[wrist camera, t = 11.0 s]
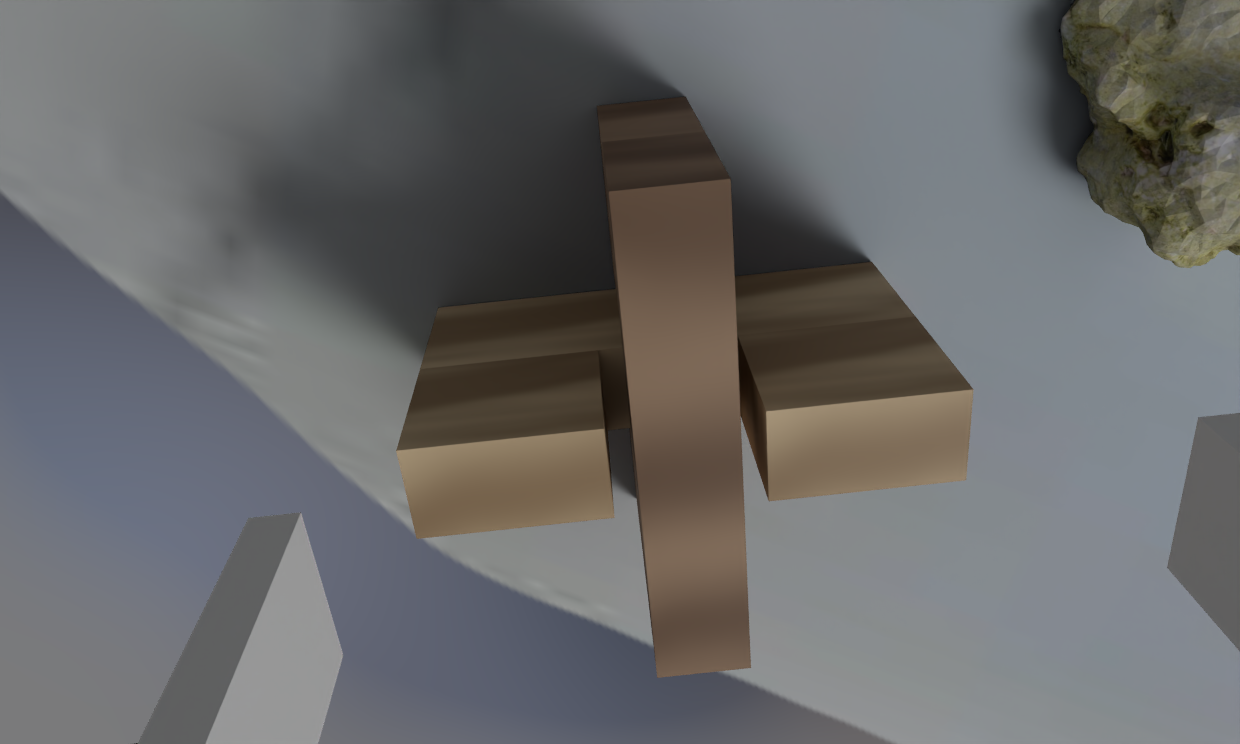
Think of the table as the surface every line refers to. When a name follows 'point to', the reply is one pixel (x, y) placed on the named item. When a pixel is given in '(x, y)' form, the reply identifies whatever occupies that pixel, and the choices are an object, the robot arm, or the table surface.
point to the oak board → (597, 402)
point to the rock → (1162, 118)
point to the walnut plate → (680, 377)
